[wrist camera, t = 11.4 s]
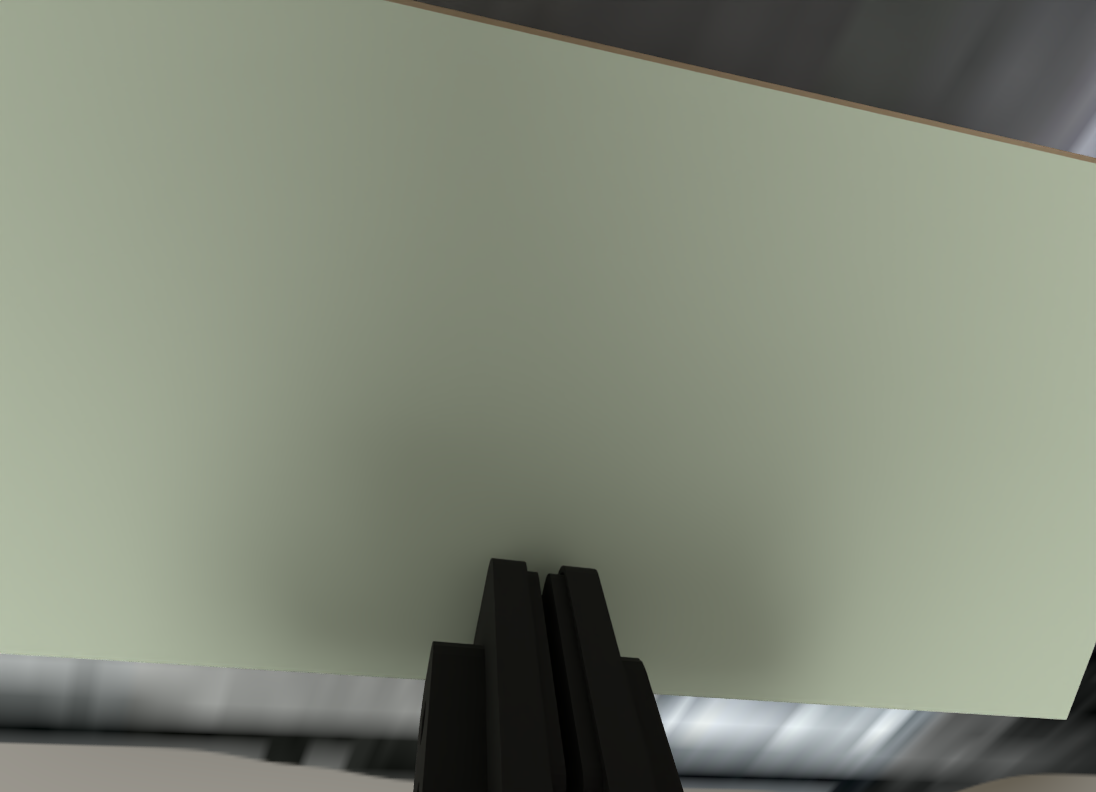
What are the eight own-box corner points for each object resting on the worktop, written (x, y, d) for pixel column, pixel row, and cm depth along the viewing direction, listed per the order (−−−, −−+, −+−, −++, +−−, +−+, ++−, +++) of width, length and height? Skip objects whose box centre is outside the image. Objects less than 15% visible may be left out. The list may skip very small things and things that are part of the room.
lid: (-261, -128, 8) (-337, -165, 7) (1208, 203, 12) (1261, 202, 11) (-211, 606, 10) (-265, 637, 9) (1032, 692, 14) (1066, 719, 13)
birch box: (50, -52, 14) (-284, -161, 8) (960, 152, 18) (1225, 188, 12) (85, 380, 18) (-120, 537, 12) (828, 473, 22) (972, 631, 16)
